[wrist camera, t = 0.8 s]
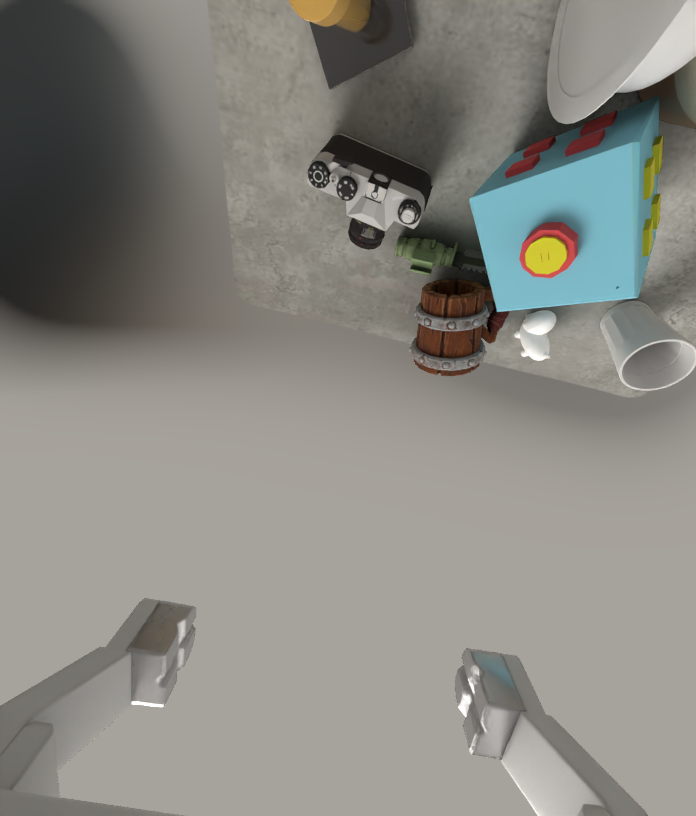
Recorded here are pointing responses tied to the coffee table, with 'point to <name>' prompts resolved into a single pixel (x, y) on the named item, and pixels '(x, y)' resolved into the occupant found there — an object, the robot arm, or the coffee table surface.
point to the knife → (437, 256)
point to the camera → (370, 187)
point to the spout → (320, 10)
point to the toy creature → (536, 334)
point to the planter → (676, 96)
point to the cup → (646, 347)
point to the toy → (574, 213)
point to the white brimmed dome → (615, 50)
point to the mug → (454, 326)
